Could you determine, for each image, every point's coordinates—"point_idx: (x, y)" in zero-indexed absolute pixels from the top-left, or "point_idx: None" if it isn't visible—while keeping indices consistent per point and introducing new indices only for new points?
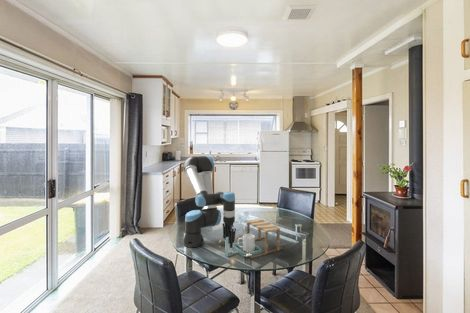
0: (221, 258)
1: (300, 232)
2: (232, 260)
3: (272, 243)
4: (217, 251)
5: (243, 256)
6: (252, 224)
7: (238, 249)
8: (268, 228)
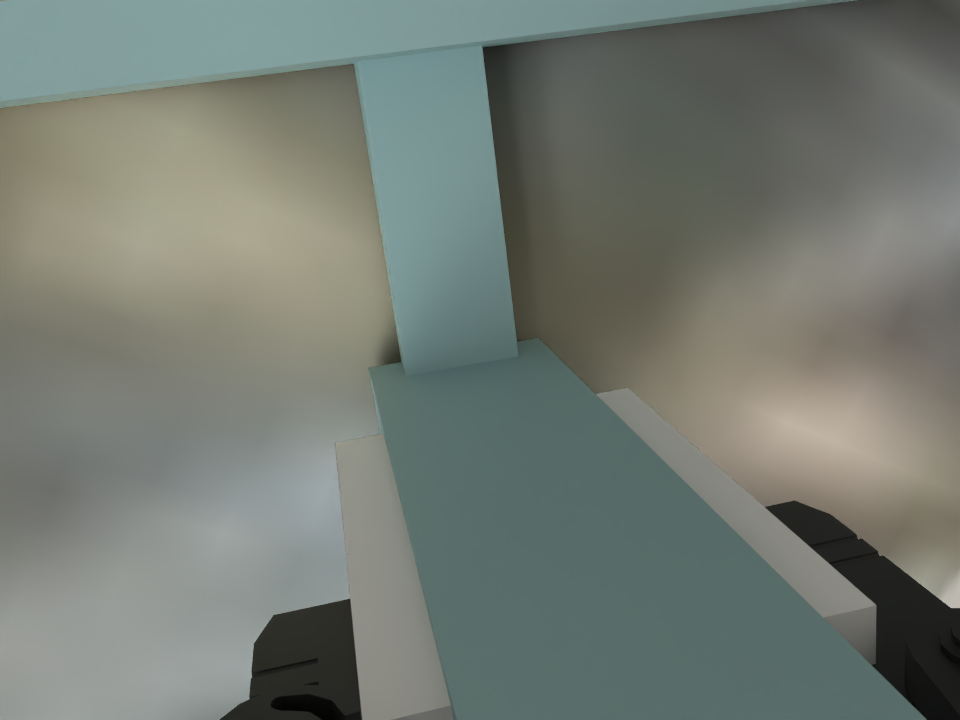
0: None
1: None
2: (802, 429)
3: None
4: (16, 686)
5: (821, 4)
6: None
7: (473, 14)
8: None
